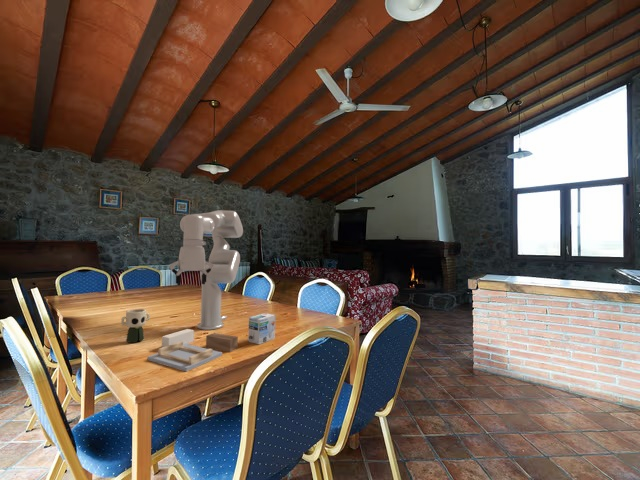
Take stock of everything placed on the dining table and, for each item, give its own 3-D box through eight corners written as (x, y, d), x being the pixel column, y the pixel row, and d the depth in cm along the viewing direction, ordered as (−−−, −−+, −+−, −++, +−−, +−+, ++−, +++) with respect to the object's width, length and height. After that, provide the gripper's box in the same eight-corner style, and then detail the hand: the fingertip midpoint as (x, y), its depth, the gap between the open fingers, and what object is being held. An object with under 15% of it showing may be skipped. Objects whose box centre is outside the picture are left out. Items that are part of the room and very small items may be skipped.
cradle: (180, 347, 115) (180, 341, 115) (212, 355, 108) (212, 349, 108) (158, 355, 106) (158, 348, 106) (191, 365, 99) (191, 357, 99)
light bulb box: (258, 345, 124) (259, 319, 124) (247, 341, 127) (248, 317, 128) (275, 338, 133) (276, 314, 133) (264, 335, 136) (265, 312, 137)
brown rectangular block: (213, 344, 123) (214, 332, 123) (237, 348, 119) (237, 336, 119) (206, 348, 119) (206, 335, 119) (230, 352, 115) (230, 339, 115)
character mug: (124, 346, 118) (125, 314, 118) (117, 342, 122) (118, 311, 122) (152, 339, 127) (153, 309, 127) (144, 336, 131) (145, 307, 131)
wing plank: (187, 340, 128) (187, 328, 128) (193, 341, 126) (194, 330, 126) (161, 348, 117) (162, 336, 117) (168, 350, 115) (169, 338, 115)
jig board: (185, 346, 120) (185, 343, 120) (222, 355, 111) (222, 352, 111) (147, 359, 105) (147, 356, 105) (186, 371, 97) (186, 367, 97)
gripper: (211, 244, 132) (210, 282, 131) (168, 243, 122) (167, 284, 121) (216, 244, 126) (214, 284, 125) (171, 243, 116) (169, 286, 115)
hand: (191, 284), depth 123 cm, fingers open, 9 cm apart
